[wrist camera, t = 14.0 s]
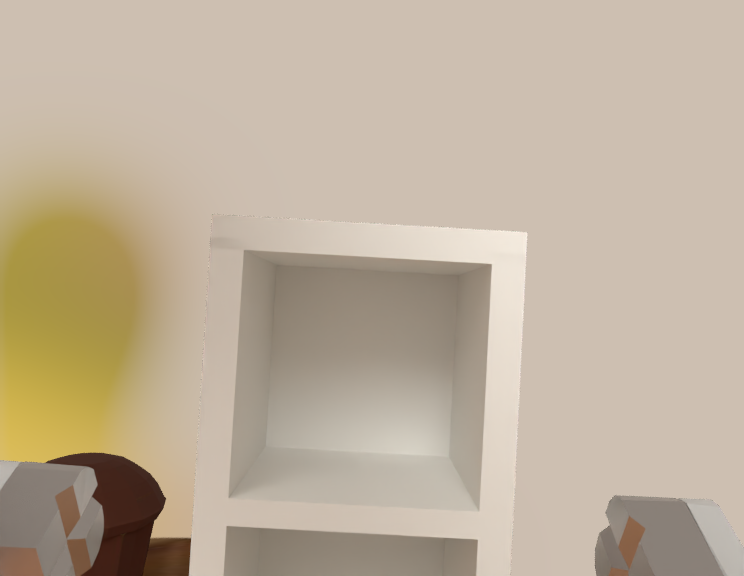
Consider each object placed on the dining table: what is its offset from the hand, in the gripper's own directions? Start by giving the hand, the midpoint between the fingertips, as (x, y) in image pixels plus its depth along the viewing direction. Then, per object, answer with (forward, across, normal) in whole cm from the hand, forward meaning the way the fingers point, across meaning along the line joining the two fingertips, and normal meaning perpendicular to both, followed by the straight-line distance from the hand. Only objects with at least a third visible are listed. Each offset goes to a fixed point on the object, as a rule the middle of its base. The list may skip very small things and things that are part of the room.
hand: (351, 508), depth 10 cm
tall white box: (+12, 0, +29) cm, 31 cm away
